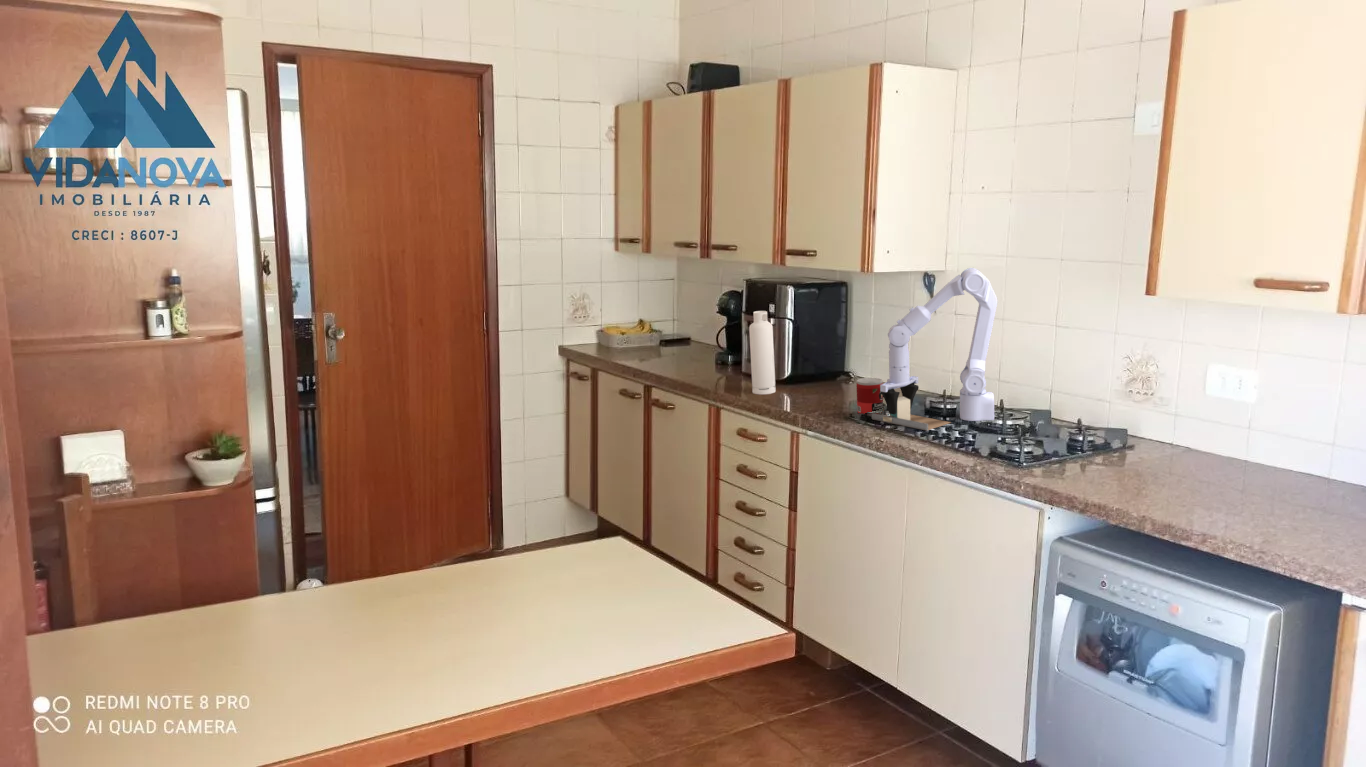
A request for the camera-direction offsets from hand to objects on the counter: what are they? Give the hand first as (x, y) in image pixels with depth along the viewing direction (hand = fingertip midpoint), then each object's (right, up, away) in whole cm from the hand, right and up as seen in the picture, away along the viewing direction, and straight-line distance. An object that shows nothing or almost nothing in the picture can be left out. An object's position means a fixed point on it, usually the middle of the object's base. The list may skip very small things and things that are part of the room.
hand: (900, 411), depth 275 cm
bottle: (-35, +5, +52) cm, 63 cm away
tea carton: (0, -2, 0) cm, 2 cm away
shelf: (+3, -4, -2) cm, 5 cm away
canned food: (-6, -2, +12) cm, 14 cm away
